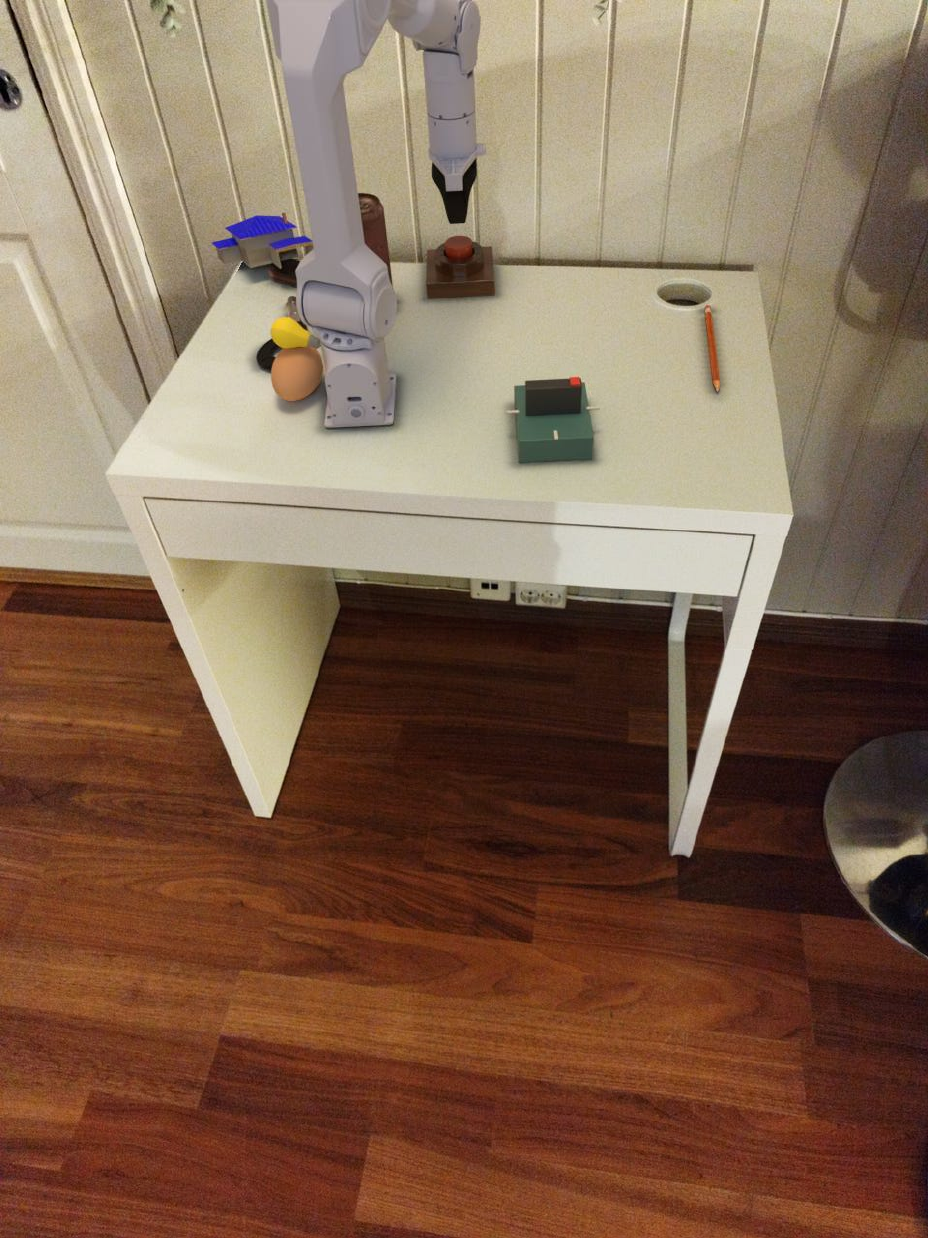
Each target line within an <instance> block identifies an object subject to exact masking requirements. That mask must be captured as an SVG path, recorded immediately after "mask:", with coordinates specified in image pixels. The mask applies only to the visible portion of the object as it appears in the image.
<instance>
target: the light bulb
mask: <svg viewBox="0 0 928 1238" xmlns="http://www.w3.org/2000/svg"><path fill="white" fill-rule="evenodd" d="M307 330H308V329H307ZM307 330H305V329H303V328H302V327H301V326H300V325H299V324H298V323H297V322H296V321H295V320H293V319H291V318H289V317H288V316H282V317H279V318H277V319H275V320H274V322H273V323H272V325H271V328H270V337H271V339H273V341H274V342H275V343H276V344H277V345H278V346H279V347H278V348H281V349H283V348H285V349H291V348H297V347H304V348H305V347H307V346H309V347H313V348H315V349H316V350H317V349H319V348H321V343H320V339H319V338H317V337H314V336H313V334H311V333H310V331H309V330H308V331H307Z"/></svg>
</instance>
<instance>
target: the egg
mask: <svg viewBox="0 0 928 1238" xmlns="http://www.w3.org/2000/svg"><path fill="white" fill-rule="evenodd" d="M275 357H276V358H275V360H274V362H273V365H272V369H270V380H271V385H272V386H271V387H272V388H273V390H274V392H275V393H276V394H277V396H278V397H279V398H281V399H283V400H285V401H289V402H290V401H291V402H295V401H296V402H297V401H299V400H302V399H304V398H307V397H308V396H310V395H311V394H312V393H313V392H315V390H316V389H317V387H318V386H319V384H320V383H321V380H322V378H323V374H324V362H323V359H322V358H323V357H322V356H321V354H320V352H319V351H318V350H317V349H316V348H313V347H309V346H307V347H305V348H304V347H297V348H291V349H285V348H281V350H280V351H279V352H277V355H276V356H275Z"/></svg>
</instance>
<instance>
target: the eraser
mask: <svg viewBox="0 0 928 1238" xmlns="http://www.w3.org/2000/svg"><path fill="white" fill-rule="evenodd" d="M300 261H301V260H299V259H296V258H292V259H288V260H283V261H280V262H281V267H282V268H281V269H280V268H279V267H278V266H276V265H275V264H274V263H270V264H268V265H269V266H268V274H269V276H270V277H271V279H272V280H274V281H276V282H278V283H282V284H286V285H289V286H293V287H297V278H296V273H295V271H296V269H297V267H298V265H299V263H300Z"/></svg>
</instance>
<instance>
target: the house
mask: <svg viewBox="0 0 928 1238" xmlns="http://www.w3.org/2000/svg"><path fill="white" fill-rule="evenodd" d="M297 228H298V226H297V225H295V224H293V223H292V222H291V221H288V218H287V213H286V212H282V213H281V216H280V215H254V216H252V217H248V218H246V219H244V220H242V221H239V222H236V223H233V224H231V225H229V226H226V227H224V229H225V230H226V231H227V232H229V233H230V235H231V237H229V238H224V239H221V240H215V241H211V242H210V243H211V245H212V246H213V247H214V248H215V251H216V253H217V257H218V260H219V261H221V263H223V264H224V265H228V264H233V263H238V262H241V261H242V263H244V264H245V265H246V266H247V267H249V269H252V268H257V267H261V266H266V265H270V263H274V264H275V265H276V266H278V267H279V268H280V269H281V268H282V267H281V262H280V261H283V260H288V259H296V258H299V253H298V248H303V247H305V252H306V255H307V254H308V253H309V252H311V251H312V250H313V249H314V245H313V240H312V238H311V239H310V238H309V237H308V236H306V235H301V236H295V235H294V231H293V230H294V229H297Z"/></svg>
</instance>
